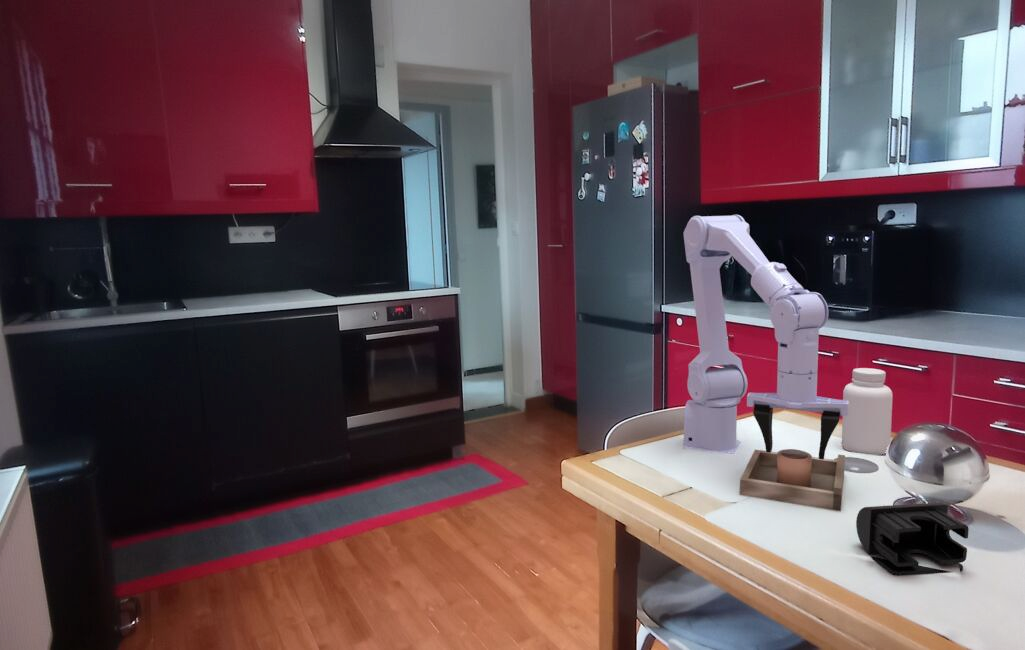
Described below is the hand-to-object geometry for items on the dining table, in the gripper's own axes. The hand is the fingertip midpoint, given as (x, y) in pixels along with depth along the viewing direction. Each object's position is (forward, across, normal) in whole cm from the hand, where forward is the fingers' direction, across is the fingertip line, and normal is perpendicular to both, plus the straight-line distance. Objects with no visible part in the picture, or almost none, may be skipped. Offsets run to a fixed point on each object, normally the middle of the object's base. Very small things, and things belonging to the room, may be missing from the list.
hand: (794, 453), depth 101 cm
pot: (+5, 0, 0) cm, 5 cm away
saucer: (+6, +8, +13) cm, 17 cm away
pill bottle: (+6, +10, +25) cm, 27 cm away
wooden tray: (+6, 0, 0) cm, 6 cm away
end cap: (+6, +15, -17) cm, 24 cm away
